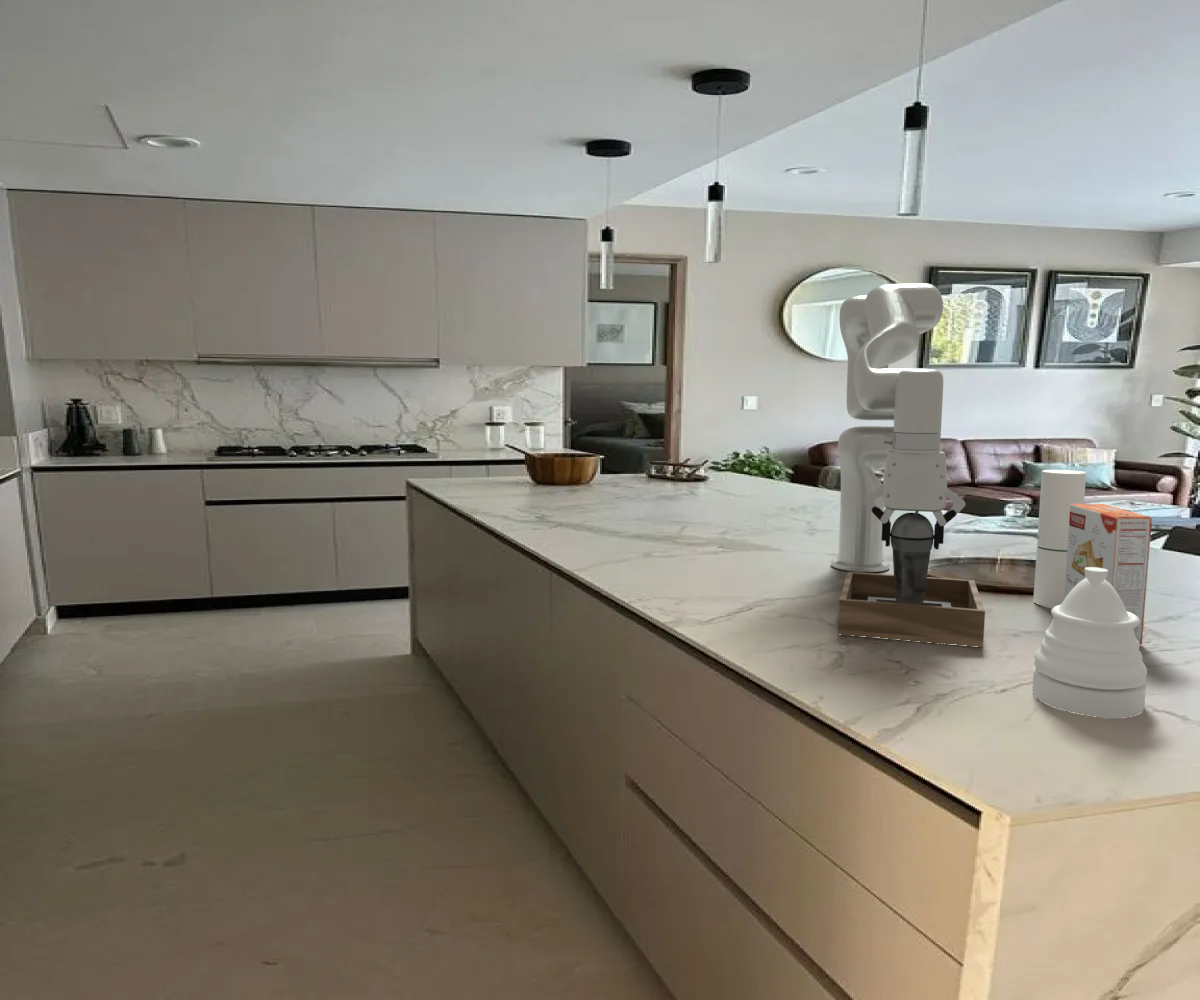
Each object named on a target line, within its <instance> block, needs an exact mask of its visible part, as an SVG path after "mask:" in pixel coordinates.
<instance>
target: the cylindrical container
mask: <svg viewBox="0 0 1200 1000" xmlns="http://www.w3.org/2000/svg"><path fill="white" fill-rule="evenodd" d="M1086 482H1087V472H1086V471H1082V470H1073V469H1072V470H1071V469H1043V470H1041V481H1040V495H1039V496H1040V497H1039V509H1038V510H1039V512H1038V514H1039V515H1038V528H1037V540H1036V541H1037V542H1036V559H1035V569H1034V570H1035V572H1034V573H1035V574H1034V585H1033V586H1034V587H1033V588H1034V589H1033V602H1034V603H1036V604H1038V605H1037V606H1039V605H1041V606H1040V607H1042V606H1044V607H1043V608H1047V609H1053V608H1054V607H1055V606H1058V605H1061V604H1062V602H1063V601H1064V595H1065V580H1066V565H1067V550H1068V534H1069V518H1070V505H1071V504H1081V503H1084V504H1085V496H1086V495H1085V494H1086V492H1085V491H1086ZM1034 603H1033V604H1034ZM1036 604H1035V605H1036Z"/></svg>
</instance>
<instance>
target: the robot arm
mask: <svg viewBox="0 0 1200 1000" xmlns="http://www.w3.org/2000/svg"><path fill="white" fill-rule="evenodd" d="M942 296H943V295H942V293H941V291H940V290H939V289H938V288H937V287H936V286H935V285H933V284H931V283H889V284H881V285H878V286H876V287H874V288H873V289H871V290H870V291H869V292H868V293H867V294H862V295H861V294H860V295H855V296H851V297H848V298H847V299H845V300H844V301H843V302H842V303H841V305H840V309H839V329H840V334H841V337H842V340H843V343H844V347H845V349H846V350H845V351H846V355H847V370H846V371H847V375H846V410H847V413H848V415H849V416H850V417H851V419H852V418H853V419H854V420H860V421H893V426H881V425H880V426H879V425H877V426H876V425H875V426H868V425H867V426H864V425H863V426H861V425H860V426H854V427H850V428H846V429H845V430H843V431H842V432H841V434H840V435H839V437H838V441H837V451H838V461H839V468H840V469H839V470H840V500H839V501H840V502H839V503H840V504H839V532H838V534H839V535H838V556H837V557H834V558H832V559H831V560H830V562H831V563H830V565H831V566H832V568H835V569H838V570H841V571H847V572H859V573H877V572H884V571H887V570H890V564H891V563H889V561H887V560H885V559H883V555H884V553H883V552H884V542H885V547H890V546H891V537H890V533H891V529H892V522H891V521H890V520H891V519H890V518H891V517H892V516H893V513H894V512H895V511H901V512H903V511H904V512H906V511H907V512H915V511H919V512H925V513H926V512H927V513H928V512H929V513H930V512H931V513H932V514H933V515H934V517H935V519H936V521H935V524H934V527H933V531H934V539H933V549H935V550H939V548H940V545H943V544H944V535H945V526H946V525H947V524H948V523H949V522H950V521H951V520H952V519H954V518H955V517H956V516H957V514H959V513H960V512H961V511H962V510H963V508H965V507H966V502H965V501H964V500H963V499H962V498H961V497H960V496H958V495H957V494H956V493H954V491H952V490H951V489H950V488H948V470H947V469H948V468H947V467H948V466H947V458H946V454H945V453H946V452H945V451H942V450H941V440H942V439H941V438H942V434H941V432H942V416H943V414H942V413H943V396H944V394H943V393H944V375H943V373H942V371H940V370H939V369H938V370H937V369H931V368H930V369H929V368H904V367H903V368H889V365H891V364H894V363H896V362H899V361H901V360H903V359H906V358H907V357H908V356H909V355H911V354H913V352H914V351H915V350H916V349H917V348H918V345H919V342H920V335H922V334H924V333H927V332H928V331H930V330H932V329H934V327H936V326H937V325H938V324H939V323H940V321H941V318H942V316H943V311H944V301H943V297H942ZM881 470H882V471H884V472H883V481H881V480H880V479H879V477H877V476H876V475H875V472H874V471H881ZM882 482H883V483H882ZM947 499H949V500H950V501H951V502H952V503H953V506H951V508H950V509H948V510H947V511H946V512H945V513H944V514H943V512H942V511H943V510H945V508H946V506H947Z"/></svg>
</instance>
